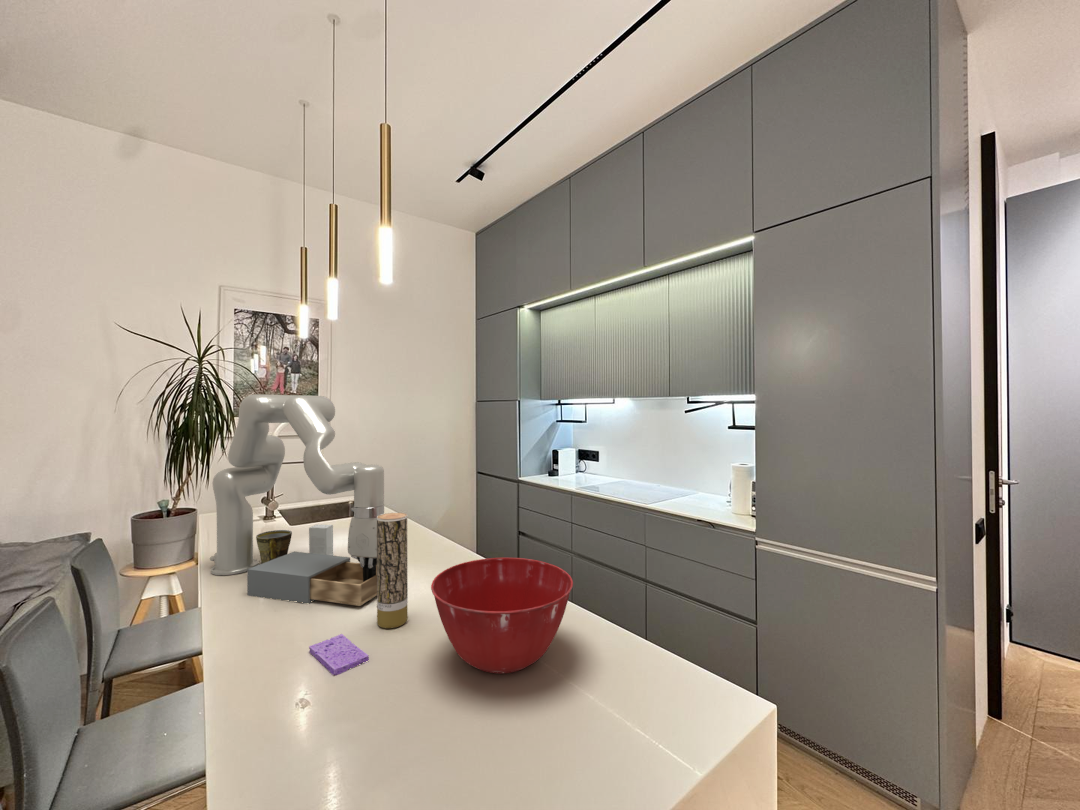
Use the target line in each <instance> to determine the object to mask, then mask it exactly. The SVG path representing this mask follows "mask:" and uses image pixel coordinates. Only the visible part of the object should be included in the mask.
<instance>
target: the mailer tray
mask: <svg viewBox="0 0 1080 810" xmlns="http://www.w3.org/2000/svg"><path fill="white" fill-rule="evenodd" d="M375 597H377V565H376V575H375V576H373V577H372V578H370V579H368V580H366V581H364V582H363V567H361V565H360V562H352V561H350V562H344V563H342V564H339V565H337V566H335V567H333V568H331V569H329V570H326V571H324V572H322V573H320V574H318V575H316V576H314V577H311V578H310V599H314V600H315V601H321V602H329V603H336V604H341V605H342V604H343V605H349V606H356V607H361V606H362V605H364V604H365V603H367V602H368V601H370V600H372V599H373V598H375Z"/></svg>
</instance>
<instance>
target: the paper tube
mask: <svg viewBox="0 0 1080 810" xmlns="http://www.w3.org/2000/svg"><path fill="white" fill-rule="evenodd" d="M408 584H409V583H408V513H405V512H386V513H384V514H381V515H379V516H377V596H376V614H377V615H376V621H377V622H376V623H377V625H378V626H379V627H380V628H382V629H395V628H399V627H401V626H403V625H404V624H405V623H406V622H407V621H408V618H409V617H408V602H409V601H408V599H409V598H408V589H409V588H408V586H409V585H408Z"/></svg>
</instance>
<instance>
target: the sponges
mask: <svg viewBox="0 0 1080 810" xmlns="http://www.w3.org/2000/svg"><path fill="white" fill-rule="evenodd" d="M308 648H309V651H308V652H309V654H310V655H312V656H313V657H314V658H315V659H316V660H317V662H319V663H321V665H322V666H323V667H324V668H325V669H327V671H328V672H329V673H330V674H331V675H332V676H337V675H338V676H339V675H340V674H342V673H344V672H348V671H349V670H348V669H350V668H352V669H354V668H356V667H358V666H357V665H359V664H361V663H363V662H366V661H368V660H369V661H370V658H369V656H370V655H369V654H367V652H365V651H364V650H363V649H361V648H359V647H358V646H357V645H356V644H354V642H353V643H352V641H351V640H350V639H349V638H347V636H345V635H344V634H343V633H340V634H338V635H336V636H333V637H331V638H329V639H326V640H322V642H317V643H314V644H311V645H309V646H308ZM369 661H368V662H369ZM366 663H367V662H366ZM361 665H362V664H361ZM355 666H356V667H355ZM359 666H360V665H359ZM353 667H354V668H353ZM347 670H348V671H347ZM350 670H351V669H350Z"/></svg>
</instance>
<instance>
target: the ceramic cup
mask: <svg viewBox="0 0 1080 810" xmlns="http://www.w3.org/2000/svg"><path fill="white" fill-rule="evenodd" d="M292 535H293V532H292V531H291V530H289V529H275V530H269V531H265V532H261V533H258V534H257V535H256V536H255V539H256V544H257V545H256V546H257V549H258V553H259V558H260V561H261V563H260V564H263V563H265V562H268V561H270V560H273V559H276V558H278V557H281V556H284V555H286V554H289V553H288V552H289V547H290V544H291V540H292Z"/></svg>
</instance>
